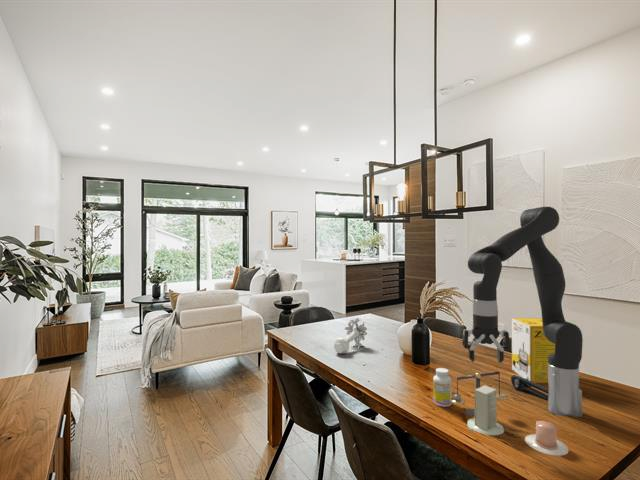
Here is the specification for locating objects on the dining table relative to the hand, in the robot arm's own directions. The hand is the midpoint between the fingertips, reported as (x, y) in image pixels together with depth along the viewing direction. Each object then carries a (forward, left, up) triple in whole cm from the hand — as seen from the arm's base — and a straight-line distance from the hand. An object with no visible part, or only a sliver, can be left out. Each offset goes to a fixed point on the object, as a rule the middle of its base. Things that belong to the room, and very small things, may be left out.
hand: (485, 361), depth 117 cm
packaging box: (-36, -52, -23) cm, 67 cm away
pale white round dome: (+1, +1, -22) cm, 22 cm away
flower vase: (+53, -77, -23) cm, 96 cm away
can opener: (-26, -32, -23) cm, 47 cm away
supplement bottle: (+12, -16, -23) cm, 30 cm away
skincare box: (0, +1, -21) cm, 21 cm away
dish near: (-14, +9, -22) cm, 28 cm away
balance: (+1, -8, -22) cm, 24 cm away
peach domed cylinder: (-14, +9, -21) cm, 27 cm away
